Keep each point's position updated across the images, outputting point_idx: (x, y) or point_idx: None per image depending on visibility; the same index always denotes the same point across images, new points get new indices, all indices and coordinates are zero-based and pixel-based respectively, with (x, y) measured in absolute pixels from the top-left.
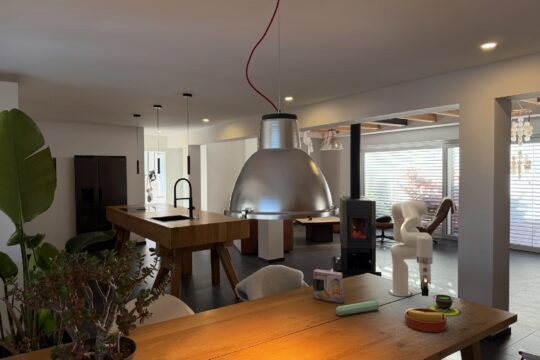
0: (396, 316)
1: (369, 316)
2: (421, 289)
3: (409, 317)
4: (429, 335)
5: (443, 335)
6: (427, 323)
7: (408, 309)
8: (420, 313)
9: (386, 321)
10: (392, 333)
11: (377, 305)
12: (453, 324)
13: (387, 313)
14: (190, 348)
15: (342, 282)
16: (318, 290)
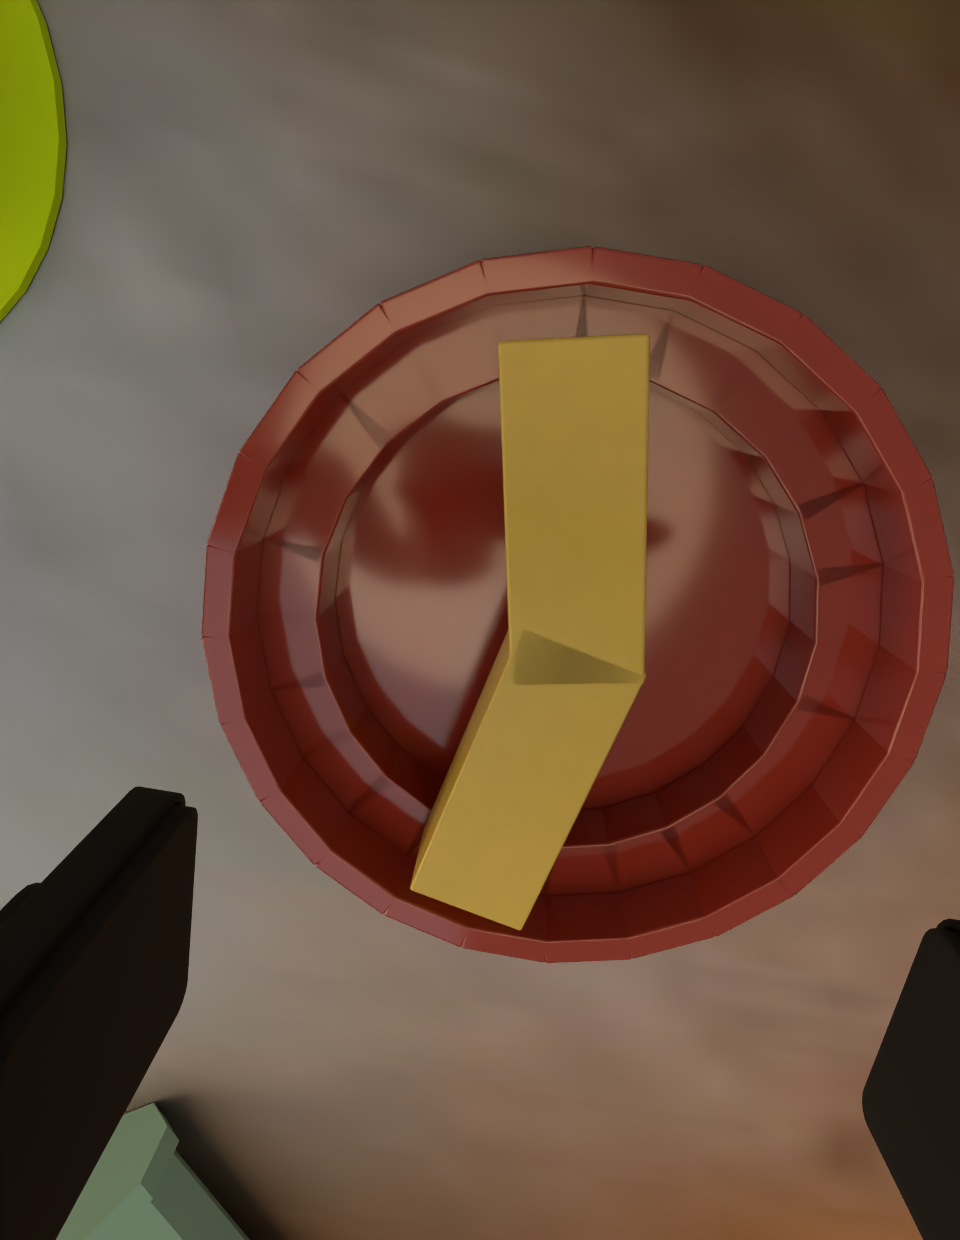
0: (307, 922)
1: (374, 1204)
2: (184, 981)
3: (709, 932)
4: (950, 639)
5: (955, 430)
6: (925, 696)
7: (331, 873)
8: (601, 759)
9: (505, 1060)
10: None
11: (154, 1190)
12: (485, 113)
13: (222, 1007)
14: None
15: None
16: None
